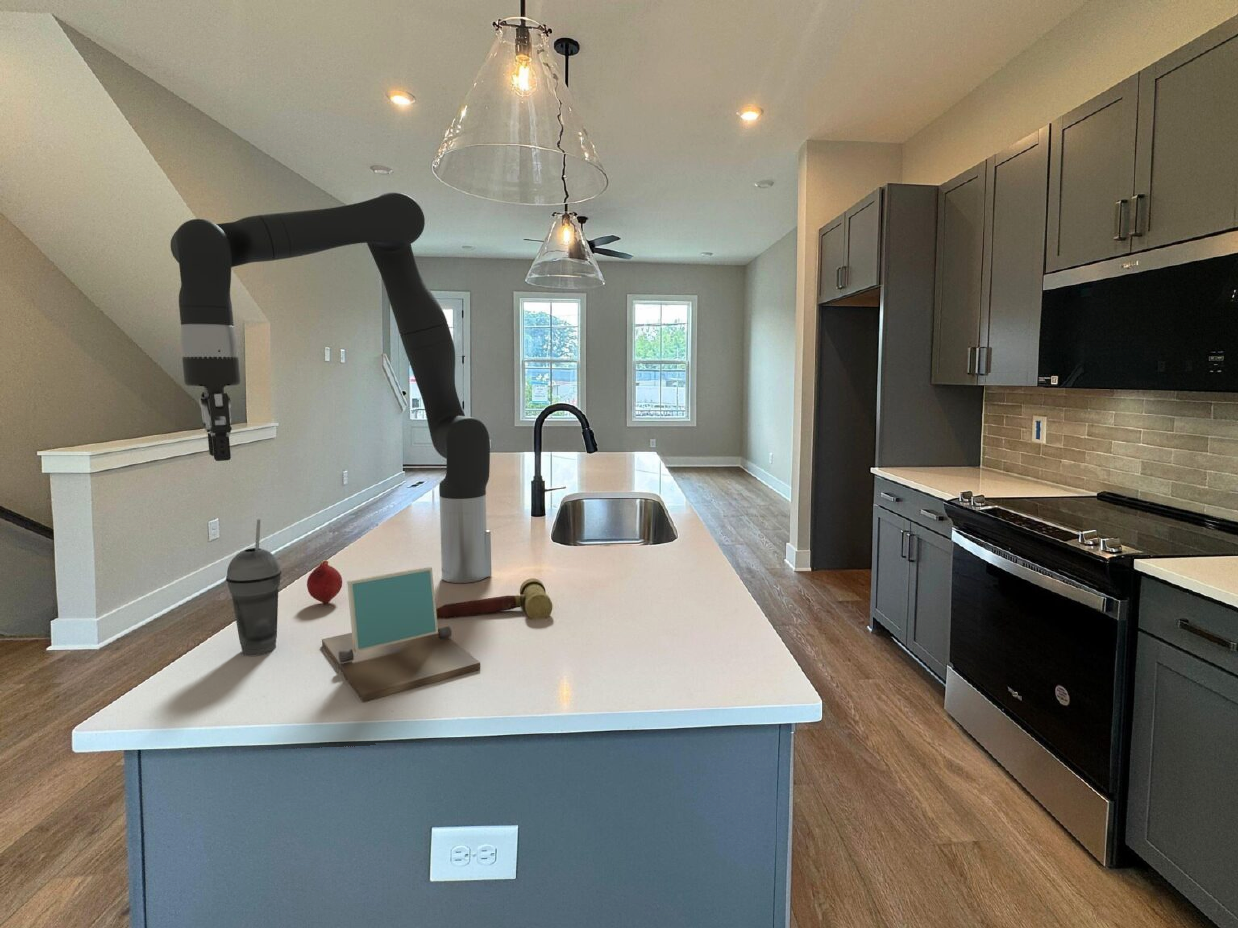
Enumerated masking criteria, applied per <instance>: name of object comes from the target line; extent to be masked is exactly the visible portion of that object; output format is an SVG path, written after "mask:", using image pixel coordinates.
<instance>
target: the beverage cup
mask: <svg viewBox="0 0 1238 928" xmlns="http://www.w3.org/2000/svg"><path fill="white" fill-rule="evenodd" d="M260 535H261V519H258V518H257V520H256V529H255V545H254V547H252V548H247V549H244V550H242V551H240V552H239V553H237V554H236V555H235V556H234V557H233V558H232V559H231V560H230V562H229V564H228V567H227V572H226V577H225V581H226V582H227V587H228V589H229V593H230V594H231V600H232V606H233V611H234V617H235V623H236V629H237V633H238V634H237V635H238V640H239V644H240V647H241V653H242V654H243V655H244V656H251V657H252V656H260V655H265V654H268V653H270V652H272V651H274V650H275V649H276V648H277V637H278V613H279V610H278V609H279V608H278V607H279V587H280V583H281V575H282V570H281V568H280V565H279V564H280V563H279V561H278V560H277V558H276V556H275V555H274V554H273V553H272V552H270V551H268V550H266V549H264V548H260V539H261V538H260V537H261V536H260Z"/></svg>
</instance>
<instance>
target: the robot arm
mask: <svg viewBox="0 0 1238 928" xmlns="http://www.w3.org/2000/svg"><path fill="white" fill-rule="evenodd" d="M425 223H426V222H425V214H424V211H423V209H422V207H421V206H420V204H419V203H418V202H417V201H416V200H415V199H414V198H412V197H411V196H409V195H408V194H405V193H401V192H396V191H395V192H394V191H393V192H387V193H383V194H381V195H379V196H378V197H374V198H370V199H368V200H364V201H360V202H357V203H352V204H347V205H346V204H345V205H340V206H336V207H327V208H320V209H319V208H318V209H317V208H316V209H310V210H309V209H308V210H299V211H298V210H297V211H296V210H295V211H287V212H286V211H285V212H276V213H267V214H266V213H265V214H259V215H251V216H246V217H243V218H240V219H238V220H235V221H232V222H223V223H215V222H212V221H210V220H208V219H203V218H194V219H190V220H186V221H185V222H183V223H182V224H181V225H180V226H179V227H178V228H177V230H176V231H175V232H174V233H173V235H172V237H171V239H170V243H169V244H170V251H171V254H172V257H173V258H174V260H175V261H176V262H177V263H178V264H179V265H178V266H179V276H180V288H179V293H178V308H179V318H180V319H179V320H180V340H179V341H180V351H181V361H182V362H181V363H182V369H183V370H182V371H183V379H184V380H183V381H184V384H185V385H186V386H188V387H202V388H203V391H201V394H200V397H199V398H198V399H199V401H198V403H199V407H200V409H201V420H202V422H203V427H204V430H205V431H206V433H207V434H206V435H207V442H208V443H207V444H208V454H209V455H210V456H212V457H213V459H214V460H215V461H216V462H221V461H222V462H223V461H230V460H231V458H232V455H231V444H230V443H231V442H230V437H229V436H231V433H232V432H231V431H232V430H233V428H232V426H231V423H232V412H231V405H232V404H231V403H232V402H231V397H229V396H230V395H228V393H227V392H225V390H224V388H225V387H226V386H227V387H228V386H239V385H240V384H241V373H240V371H241V370H240V361H239V349H238V340H237V336H236V332H235V327H234V313H233V305H232V300H231V284H232V268H234V267H239V266H243V265H247V264H251V263H261V262H262V263H263V262H271V261H272V262H273V261H279V260H285V259H291V258H296V257H302V256H307V255H312V254H316V253H320V252H323V251H328V250H331V249H336V248H339V247H340V248H341V247H344V246H345V247H346V246H351V245H356V244H357V245H358V244H363V243H364V244H365V243H366V244H367V246H368V248H369V251H370V253H371V255H372V258H373V259H374V262H375V265H376V268H377V269H378V272H379V274H380V277H381V280H382V282H383V284H384V288H385V290H386V293H387V297H388V302H389V305H390V307H391V309H392V310H391V311H392V314H393V316H394V319H395V322H396V325H397V327H396V328H397V331H398V333H399V337H400V340H401V342H402V346H403V349H404V351H405V355H406V358H407V360H408V362H409V365H410V368H411V371H412V373H413V377H414V380H415V383H416V385H417V388H418V391H419V393H420V396H421V400H422V404H423V406H424V411H425V415H426V416H425V417H426V421H427V425H428V431H429V435H430V439H431V443H432V445H433V448H434V449H435V451H436V453H438V455H440V456H441V457H443V458H444V459H446V472H445V473H446V474H445V476H444V478H443V479H442V480H441V481H440V482H439V486H438V490H439V491H438V492H439V517H440V518H439V521H440V523H439V524H440V554H441V555H440V557H441V559H440V561H441V578H442V580H443V581H444V582H447V583H453V584H454V583H455V584H466V583H467V584H469V583H475V582H478V581H481V580H484V579H486V578H488V577H492V536H491V535H492V534H491V533H492V532H491V531H490V530H489V529H487V526H488V525H487V485H488V483H489V479H490V473H491V472H490V471H491V470H490V468H491V465H490V463H491V461H490V460H491V445H490V444H491V441H490V435H489V432H488V429H487V427H486V425H485V424H484V423H483V421H481V420H479V419H478V418H476V417H473V416H466V415H465V412H464V410H463V407H462V404H461V401H460V399H459V396H458V392H457V388H456V350H455V349H456V348H455V343H454V340H453V336H452V333H451V330H450V326H449V323H448V320H447V316H446V315H445V312H444V310H443V308H442V307H441V305H440V302H438V300H437V299H436V297H435V296H434V295H433V293H432V292H431V290H430V289H429V287H428V285H427V284H426V283H425V282H424V280H423V277H422V275H421V273H420V271H419V268H418V266H417V263H416V262H417V261H416V259H415V256H414V252H413V248H412V244H413V243H415V241H417V240H418V239H419V238H420V237H421V236H422V234H423V232H424V229H425V225H426V224H425Z"/></svg>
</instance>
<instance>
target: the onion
mask: <svg viewBox="0 0 1238 928" xmlns="http://www.w3.org/2000/svg"><path fill="white" fill-rule="evenodd" d="M306 587H307V588H306V589H307V592H308V594H309V595H310V597H312V598H313V600H314V599H315V600H317V601H318V602H319V603H323V604H328V603H330V602H331V601H332V600H333V599H334V598H335V597H337V595H338V594H339V593H340V591H341V589H342V588H343V578H342V575H341V574H340V572H339V571H338V570H337V569H336V568H334V567H333V566H331V565H329V561H328V560H327V559H324V560H322V561H320V563H319V565H318V566H317V567H315V568H314V569H313V570H312V572H311V573H310V574H309V575H308V578H307V581H306Z"/></svg>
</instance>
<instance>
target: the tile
mask: <svg viewBox="0 0 1238 928" xmlns="http://www.w3.org/2000/svg"><path fill="white" fill-rule="evenodd" d="M346 585H347V593H348V606H349V616H350V624H351V625H350V626H351V633H352V638H353V649H354V652H360V651H364V650H369V649H373V648H377V647H381V646H386V645H390V644H394V643H398V642H403V641H407V640H411V639H415V638H420V637H424V636H428V635H432V634H437V633H438V629H439V627H438V618H437V615H436V609H437V606H436V597H435V585H434V575H433V567H432V566H426V567H422V568H415V569H409V570H403V571H398V572H392V573H386V574H381V575H375V576H370V577H369V576H368V577H363V578H356V579H352V580H351V579H350V580H346Z"/></svg>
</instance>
